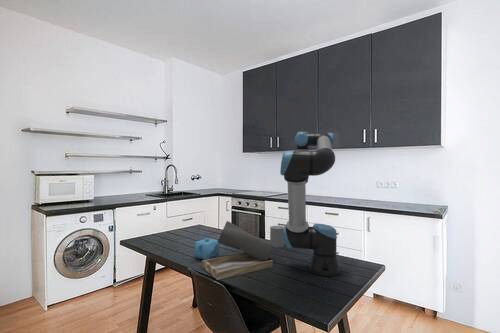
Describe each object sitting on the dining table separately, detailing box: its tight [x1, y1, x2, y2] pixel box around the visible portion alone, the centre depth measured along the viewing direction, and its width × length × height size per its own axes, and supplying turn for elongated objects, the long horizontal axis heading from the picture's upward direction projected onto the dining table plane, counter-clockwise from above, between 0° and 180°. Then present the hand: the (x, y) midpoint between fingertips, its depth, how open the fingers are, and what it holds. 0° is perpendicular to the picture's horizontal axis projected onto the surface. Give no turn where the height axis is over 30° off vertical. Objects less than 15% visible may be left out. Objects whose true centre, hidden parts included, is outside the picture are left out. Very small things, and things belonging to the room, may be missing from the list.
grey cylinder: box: [269, 225, 285, 248], centre depth 183 cm, size 10×10×12 cm
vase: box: [218, 220, 274, 261], centre depth 155 cm, size 12×12×30 cm
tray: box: [201, 252, 274, 281], centre depth 143 cm, size 19×32×4 cm, turn 122°
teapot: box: [194, 237, 220, 260], centre depth 157 cm, size 16×18×11 cm
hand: (302, 193), depth 171 cm, fingers closed
